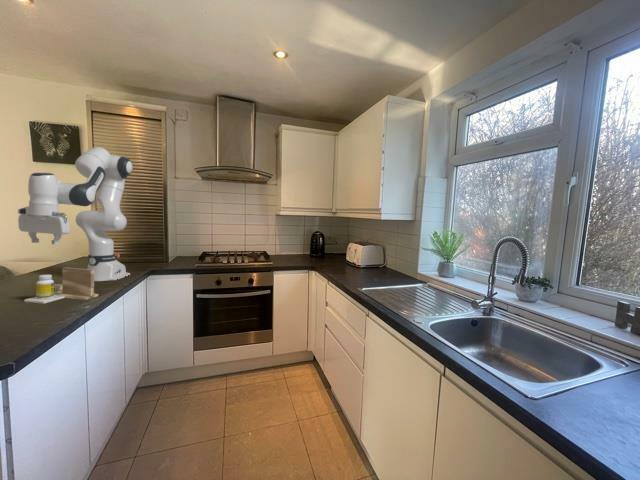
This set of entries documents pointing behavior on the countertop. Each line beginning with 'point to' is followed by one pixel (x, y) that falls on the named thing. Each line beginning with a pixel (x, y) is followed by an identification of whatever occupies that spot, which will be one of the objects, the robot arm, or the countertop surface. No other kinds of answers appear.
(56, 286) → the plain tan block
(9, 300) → the countertop surface
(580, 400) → the countertop surface
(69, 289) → the tan t-shaped stand
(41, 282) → the supplement bottle
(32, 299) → the coaster
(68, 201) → the robot arm
